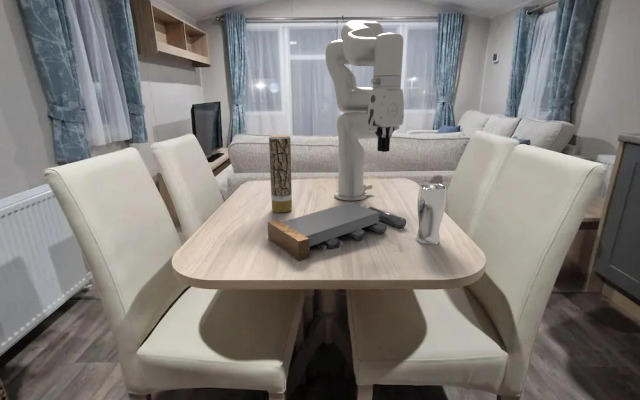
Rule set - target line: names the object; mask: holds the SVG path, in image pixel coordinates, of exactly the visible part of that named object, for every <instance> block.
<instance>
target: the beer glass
mask: <svg viewBox="0 0 640 400" xmlns="http://www.w3.org/2000/svg"><path fill="white" fill-rule="evenodd" d="M446 203H447V186H446V185H444V184H441V183H421V184H420V185H419V190H418V196H417V205H416V206H417V217H418V230H417V234H416V237H415V239H416V242H418V243H420V244H422V243H423V245H427V244H435V245H437V244H436V243H438V244H439V243H440V242H441V238H440V227H441V223H442V220H443V217H444V214H445V210H446Z"/></svg>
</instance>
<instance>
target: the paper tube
mask: <svg viewBox="0 0 640 400" xmlns="http://www.w3.org/2000/svg"><path fill="white" fill-rule="evenodd" d="M268 144H269V147H268V148H269V149H268V150H269V169H270V170H269V171H270V172H269V173H270V193H271V194H270V196H271V210H272V211H273V212H274V213H280V214H282V213H283V214H284V213H288V212H290V211H292V210H293V205H292V204H293V201H292V200H293V199H292V197H293V196H292V191H293V190H292V188H293V187H292V158H291V157H292V155H291V153H292V152H291V151H292V149H291V146H292V145H291V135H289V134H288V135H287V134H272V135H269V137H268Z"/></svg>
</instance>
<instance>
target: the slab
mask: <svg viewBox="0 0 640 400" xmlns="http://www.w3.org/2000/svg"><path fill="white" fill-rule="evenodd" d="M282 222H283V223H284V224H286V225H288V226H289V227H291V228H293V229H294V230H296V231H298V232H299V233H301V234H303V235H304V236H306V237H308V238H309V241H310V247H313V246H315V245H316V246H317V244H318V243H321V242H324V241H327V240H330V239H333V238H338V237H341V236H343V235H347V233H350V232H353V231H355V230H358V229H363V228H366V227H367V226H370V225H372V224H375V223H378V222H380V220H379V212H377V211H374V210H371V209H369V207H366V206H363V205H360V204H357V203H355V202H353V201H348V202H346V203H343V204H339V205H336V206H332V207H329V208H325V209H321V210H319V211H316V212H311V213H309V214H305V215H302V216H298V217H295V218H292V219H287V220H285V221H282Z"/></svg>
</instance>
